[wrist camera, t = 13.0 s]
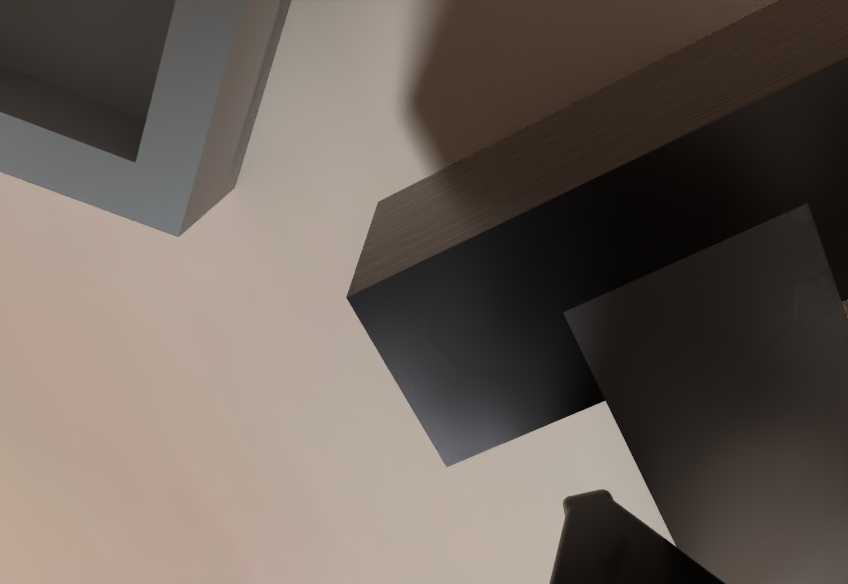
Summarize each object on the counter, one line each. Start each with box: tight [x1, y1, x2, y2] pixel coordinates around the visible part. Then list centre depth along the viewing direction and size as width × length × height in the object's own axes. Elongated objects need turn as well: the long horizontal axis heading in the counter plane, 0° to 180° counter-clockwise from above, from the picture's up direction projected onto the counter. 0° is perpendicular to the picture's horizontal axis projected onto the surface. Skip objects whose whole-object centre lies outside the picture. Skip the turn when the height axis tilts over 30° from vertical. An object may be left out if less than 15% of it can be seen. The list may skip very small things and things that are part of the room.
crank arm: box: [346, 0, 848, 584], centre depth 9 cm, size 12×5×3 cm, turn 27°
